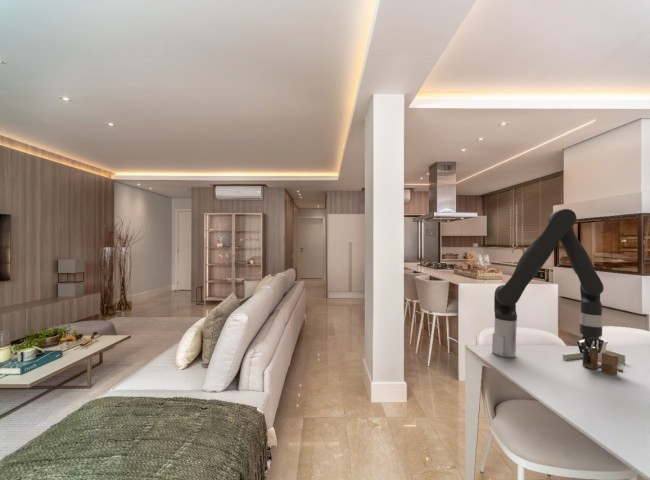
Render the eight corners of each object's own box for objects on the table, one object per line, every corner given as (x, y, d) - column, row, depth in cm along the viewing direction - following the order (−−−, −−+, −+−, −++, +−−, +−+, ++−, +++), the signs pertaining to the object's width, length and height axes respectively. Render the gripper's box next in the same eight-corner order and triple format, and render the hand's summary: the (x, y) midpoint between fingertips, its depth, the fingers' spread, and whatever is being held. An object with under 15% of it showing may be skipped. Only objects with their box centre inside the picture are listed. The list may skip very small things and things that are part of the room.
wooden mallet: (592, 369, 132) (593, 350, 132) (567, 359, 142) (567, 342, 142) (622, 364, 138) (622, 346, 138) (595, 355, 148) (595, 339, 148)
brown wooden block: (612, 375, 127) (613, 356, 127) (601, 371, 131) (601, 352, 131) (627, 372, 130) (628, 354, 130) (616, 369, 134) (616, 350, 134)
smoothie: (610, 363, 140) (611, 333, 140) (594, 362, 141) (595, 331, 141) (601, 358, 146) (602, 329, 146) (585, 356, 147) (586, 327, 147)
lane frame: (590, 369, 133) (590, 360, 133) (562, 359, 143) (563, 350, 143) (625, 363, 140) (625, 355, 140) (596, 354, 151) (596, 346, 151)
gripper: (592, 320, 140) (591, 358, 140) (570, 322, 136) (569, 361, 136) (611, 325, 133) (610, 364, 133) (589, 327, 129) (588, 368, 129)
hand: (590, 362), depth 134 cm, fingers closed on wooden mallet, 3 cm apart
